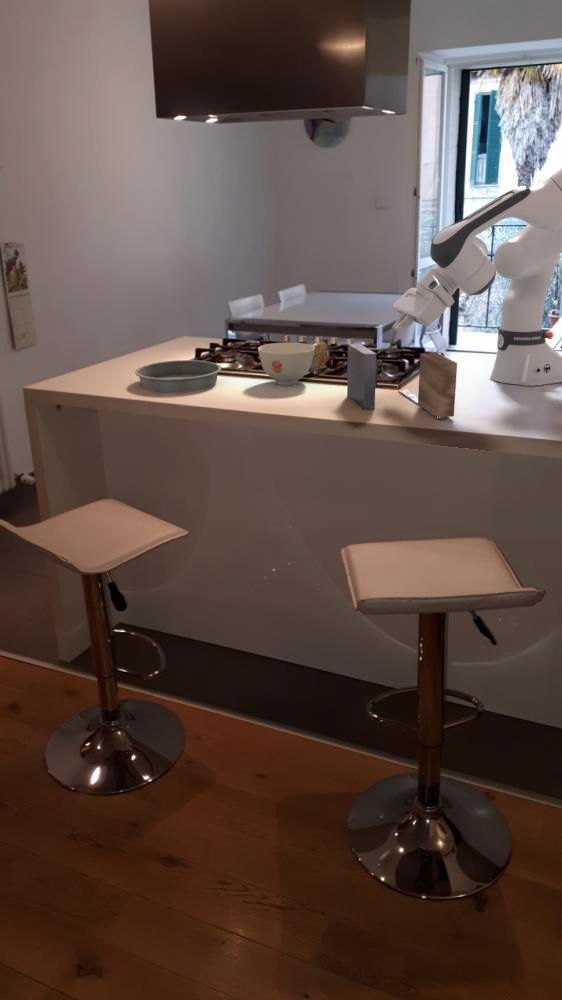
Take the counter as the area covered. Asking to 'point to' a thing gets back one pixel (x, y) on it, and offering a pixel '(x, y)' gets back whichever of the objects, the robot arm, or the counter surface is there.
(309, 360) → the bowl
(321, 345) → the tin
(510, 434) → the counter surface
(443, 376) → the brown flat angular block
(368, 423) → the counter surface
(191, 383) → the cake pan
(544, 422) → the counter surface
